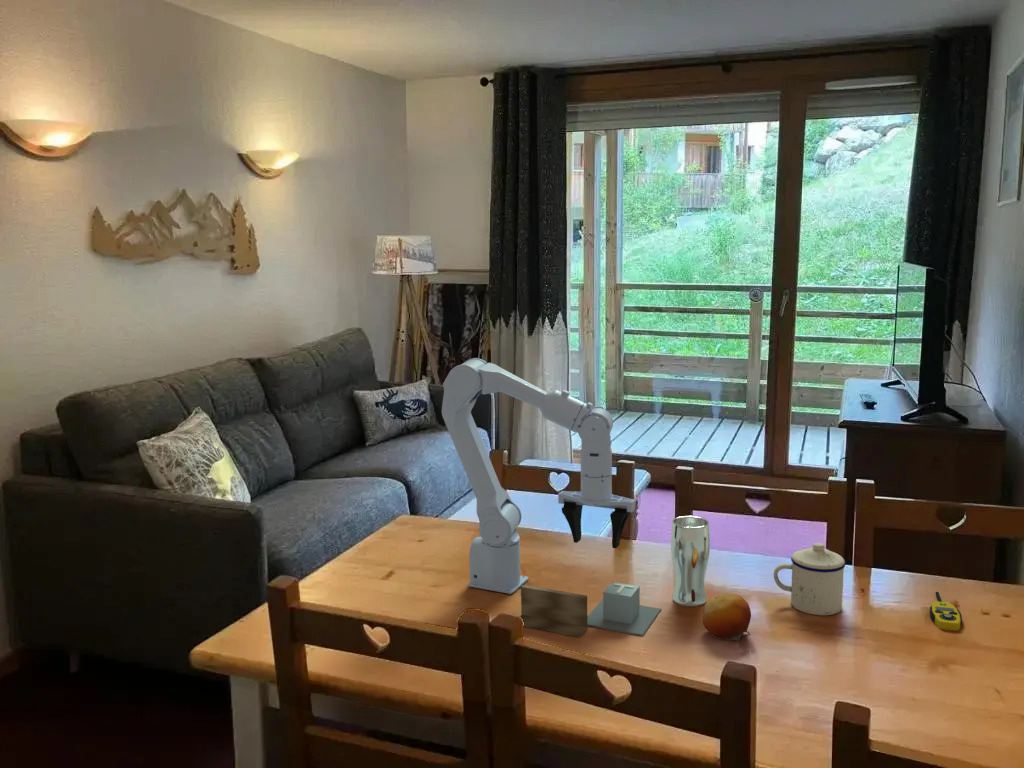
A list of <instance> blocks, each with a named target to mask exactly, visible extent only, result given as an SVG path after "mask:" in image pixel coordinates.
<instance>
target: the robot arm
mask: <svg viewBox="0 0 1024 768" xmlns="http://www.w3.org/2000/svg"><path fill="white" fill-rule="evenodd" d="M442 385H443V396H442V397H443V398H442V405H441V415H442V419H443V421H444V424H445V426H446V429H447V431H448V433H449V436H450V438H451V440H452V443H453V445H454V447H455V450H456V452H457V455H458V457H459V460H460V462H461V465H462V467H463V469H464V472H465V475H466V477H467V479H468V482H469V484H470V486H471V489H472V491H473V494H474V495H475V498H476V516H477V517H478V521H479V522H478V524H479V525H478V531H479V535H480V536H476V537H475V538H473V540H472V541H471V544H470V547H469V553H468V554H469V555H468V559H469V583H468V585H467V586H468V587H470V588H474V589H475V588H476V589H480V590H482V589H483V590H486V591H493V592H498V593H503V594H508V595H509V594H510V595H512V594H513V593H515V592H516V591H517V590H518V589H519V588H521V586H522V585H525V583H527V581H528V580H529V576H526V575H521V545H520V544H521V543H520V542H521V537H520V535H519V532H518V531H517V528H518V527H519V525H520V524H521V521H522V511H521V509H520V508H519V506H518V505H517V503H515V502H514V501H513V500H512V498H511V496H510V494H509V492H508V491H507V490H506V489H504V488H503V486H501V483H500V481H499V479H498V476H497V473H496V472H495V471H496V470H495V469H494V466H493V463H492V460H491V459H490V456H489V454H488V451H487V449H486V447H485V444H484V441H483V439H482V437H481V434H480V432H479V429H478V427H477V424H476V423H475V420H474V417H473V415H472V409H473V408H474V406H475V404H476V401H477V400H478V397H479V396H480V395H487V394H495V393H503V394H505V395H508V396H510V397H512V398H514V399H516V400H519V401H522V402H524V403H526V404H528V405H531V406H533V407H536V408H538V409H539V410H540V412H541V415H542V417H543V418H544V419H546V420H548V421H550V422H552V423H554V424H556V425H558V426H561V428H562V427H563V428H565V429H567V430H569V431H571V432H572V433H577V434H578V436H579V438H580V441H581V449H580V491H568V490H567V491H566V490H562V491H559V492H558V493H557V495H558V496H557V497H558V498H557V499H558V503H557V504H562V505H563V506H562V507H561V512H562V514H563V516H564V517H565V519H566V521H567V524H568V526H569V529H570V532H571V535H572V538H573V543H576V544H577V543H579V542H580V541H581V540H582V512H583V506H586V507H593V508H594V507H596V508H604V509H611V510H613V511H612V512H611V513H610V514H609V516H610V521H611V532H612V533H611V534H612V535H611V546H612V549H617V548H619V546H620V543H621V537H622V533H623V530H624V527H625V525H626V523H627V520H628V518H629V516H630V514H631V513H633V512H635V510H636V499H633V498H629V497H625V496H622V495H621V496H619V495H615V494H613V492H612V491H613V490H612V489H613V488H612V487H613V485H612V482H613V481H612V479H613V478H612V475H613V465H612V464H613V463H612V462H613V458H612V456H613V453H612V447H611V446H612V439H611V438H612V437H611V431H612V429H613V426H614V418H613V416H612V414H611V413H610V412H609V410H607V409H605V408H604V406H601V405H595V406H594V404H593V403H592V402H590V401H588V402H587V403H586V402H584V401H582V400H579V399H577V398H576V397H574V396H571V395H570V393H571V392H570V391H568V390H567V389H563V390H562V391H560V390H559V389H553V390H552V391H548V392H547V391H545V390H543V389H541V388H540V387H537V386H536V385H534V384H532V383H530V382H529V381H526V380H524V379H522V378H520V377H519V376H518V375H515V374H513V373H511V372H509V371H508V370H506V369H504V368H502V367H500V366H499V365H497V364H495V363H492V362H487V361H486V360H483V359H481V358H479V357H473V358H468V359H467V360H466V361H465V362H463V363H461V364H459V365H456V366H454V367H453V368H451V370H450V371H449V372H448V374H447V376H446V378H445V379H444V382H443V383H442Z"/></svg>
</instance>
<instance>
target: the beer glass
mask: <svg viewBox="0 0 1024 768" xmlns="http://www.w3.org/2000/svg"><path fill="white" fill-rule="evenodd" d="M671 522H672V523H671V534H670V535H671V536H670V551H671V561H672V565H673V566H672V567H673V572H674V579H675V580H674V588H673V592H672V601H674V602H675V604H677V605H681V606H684V605H685V606H684V607H698V605H700V606H702V604H703V605H704V604H705V603H706V602H707V593H706V588H705V587H706V586H705V579H706V572H707V569H708V564H709V558H710V550H711V549H710V548H711V535H710V534H711V533H710V521H709V520H707V518H703V517H700V516H696V515H695V516H694V515H683V516H678V517H675V518H673V519H672V521H671Z"/></svg>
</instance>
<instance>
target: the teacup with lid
mask: <svg viewBox="0 0 1024 768" xmlns="http://www.w3.org/2000/svg"><path fill="white" fill-rule="evenodd" d="M825 547H826V546H825V544H824V543H821V542H814V543H813V544H812V546H811V547H808V548H802V549H799V550H797V551H795V552H794V553H793V554H792V555H791V557H790V561H791V563H792V564H791V563H781V564H778V565H777V566H776V567H775V568H774V571H773V580H774V582H775V584H776V585H777V587H778V588H779V589H781V590H783V591H786V592H790V593H791V594H790V603H791V605H792V606H793V607H794V608H795V609H796V610H798V611H800V612H802V613H805V614H809V615H814V616H831V615H835V614H838V613H839V612H840V611H841V610H842V609H843V587H844V569H845V567H846V561H845V559H844V558H843V557H842V555H840V554H838V553H836V552H834V551H831V550H830V549H827V548H825ZM781 570H792V571H791V586H789V585H785V584H784V583H782V581H780V579H779V575H778V573H779V571H781Z"/></svg>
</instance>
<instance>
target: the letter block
mask: <svg viewBox="0 0 1024 768" xmlns="http://www.w3.org/2000/svg"><path fill="white" fill-rule="evenodd" d="M640 592H641V589H640V585H636V584H629V583H623V582H617V581H612V582H611V583H610V584H609V585H608V586H607V587H606V588H605V589H604V591H603V593H602V594H603V598H602V599H603V619H605V620H611V621H616V622H622V623H627V624H631V623H632V622H633V621H634V619H635V618H636V617H637V615H638V614H639V613H640V605H641V604H640V601H641V600H640Z"/></svg>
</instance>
